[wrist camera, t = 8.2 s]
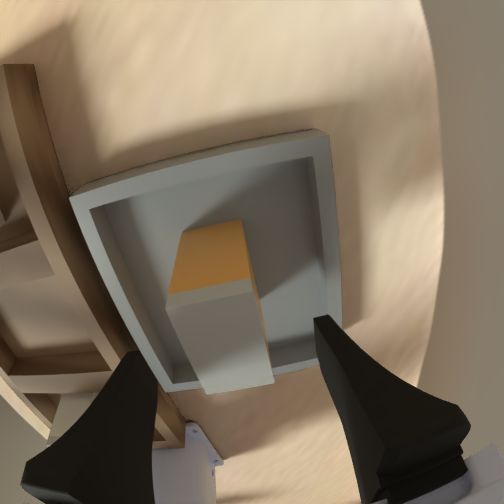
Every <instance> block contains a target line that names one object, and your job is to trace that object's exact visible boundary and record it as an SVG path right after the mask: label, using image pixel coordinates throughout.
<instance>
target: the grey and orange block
mask: <svg viewBox="0 0 504 504" xmlns="http://www.w3.org/2000/svg"><path fill="white" fill-rule="evenodd" d="M165 310H166V312H167V314H168V316H169V319H170V321H171V323H172V325H173V328H174V330H175V332H176V334H177V336H178V338H179V340H180V343H181V345H182V347H183V349H184V351H185V353H186V355H187V357H188V359H189V361H190V363H191V365H192V367H193V369H194V371H195V373H196V375H197V377H198V379H199V381H200V383H201V385H202V387H203V389H204V391H205V393H206V395H209V394H216V393H223V392H229V391H235V390H241V389H247V388H252V387H258V386H263V385H268V384H273V383H275V380H274V375H273V369H272V364H271V359H270V353H269V348H268V342H267V337H266V332H265V326H264V321H263V315H262V310H261V304H260V299H259V295H258V290H257V286H256V282H255V277H254V273H253V269H252V264H251V260H250V255H249V251H248V247H247V242H246V238H245V233H244V229H243V225H242V220H241V219H239V220H234V221H230V222H225V223H221V224H216V225H212V226H207V227H203V228H198V229H194V230H190V231H185V232H182V234H181V238H180V242H179V246H178V251H177V255H176V259H175V264H174V268H173V273H172V277H171V282H170V287H169V292H168V296H167V301H166V306H165Z"/></svg>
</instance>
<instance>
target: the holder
mask: <svg viewBox="0 0 504 504" xmlns="http://www.w3.org/2000/svg"><path fill="white" fill-rule="evenodd" d="M69 197H70V195H69V192H68V189H67V186H66V184H65V181H64V178H63V175H62V172H61V169H60V166H59V163H58V159H57V156H56V153H55V150H54V146H53V143H52V139H51V136H50V132H49V129H48V125H47V121H46V117H45V114H44V110H43V105H42V101H41V97H40V93H39V88H38V83H37V79H36V74H35V68H34V64H3V65H1V66H0V210H1V212H2V215H3V217H4V220H5V222H6V223H5V224H3V225H2V226H1V227H0V376H1V377H2V379H3V380H4V381H5V382H6V383H7V384H8V386H9V387H10V388H11V389H12V390H13V391H14V392H15V394H16V395H17V396H18V397H19V398H20V399H21V400H22V401H23V402H24V403H25V405H26V406H27V407H28V408H29V409H30V410H31V411H32V412H33V413H34V414H35V415H36V416H37V417H38V418H39V419H40V420H41V421H42V422H43V423H44V424H45V425H46V426H47V427H48V428H49V429H50V430H51V427H52V424H53V421H54V417H55V414H56V411H57V408H58V405H59V402H60V399H61V397H62V394H63V393H94V392H100V391H101V390H102V388H103V387H104V385H105V384H106V382H107V381H108V379H109V378H110V376H111V375H112V373H113V372H114V370H115V369H116V367H117V366H118V364H119V363H120V361H121V360H122V358H123V357H124V355H125V354H126V353H127V352H130V351H137V350H140V349H139V348H138V346H137V344H136V342H135V341H134V339H133V337H132V335H131V333H130V332H129V330H128V328H127V326H126V324H125V322H124V320H123V319H122V317H121V315H120V313H119V311H118V309H117V307H116V305H115V303H114V301H113V299H112V297H111V295H110V293H109V291H108V289H107V287H106V285H105V283H104V281H103V278H102V276H101V274H100V272H99V270H98V268H97V265H96V263H95V261H94V259H93V257H92V254H91V252H90V250H89V247H88V245H87V243H86V240H85V238H84V236H83V233H82V231H81V228H80V226H79V223H78V221H77V218H76V216H75V213H74V210H73V208H72V205H71V202H70V200H69ZM140 352H141V351H140ZM141 354H142V353H141ZM143 357H144V356H143ZM144 359H145V358H144ZM147 364H148V363H147ZM148 366H149V365H148ZM150 369H151V368H150ZM151 371H152V370H151ZM153 374H154V373H153ZM155 377H156V376H155ZM156 379H157V378H156ZM185 430H186V421H185V419H184V418H183V416H182V415H181V413H180V412H179V410H178V409H177V407H176V406H175V404H174V403H173V401H172V400H171V398H170V397H169V395H168V393H167V392H165V391H164V389H163V388H162V386H161V384H160V383H159V381H158V404H157V412H156V420H155V428H154V436H153V444H152V450H153V449H177V448H185Z"/></svg>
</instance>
